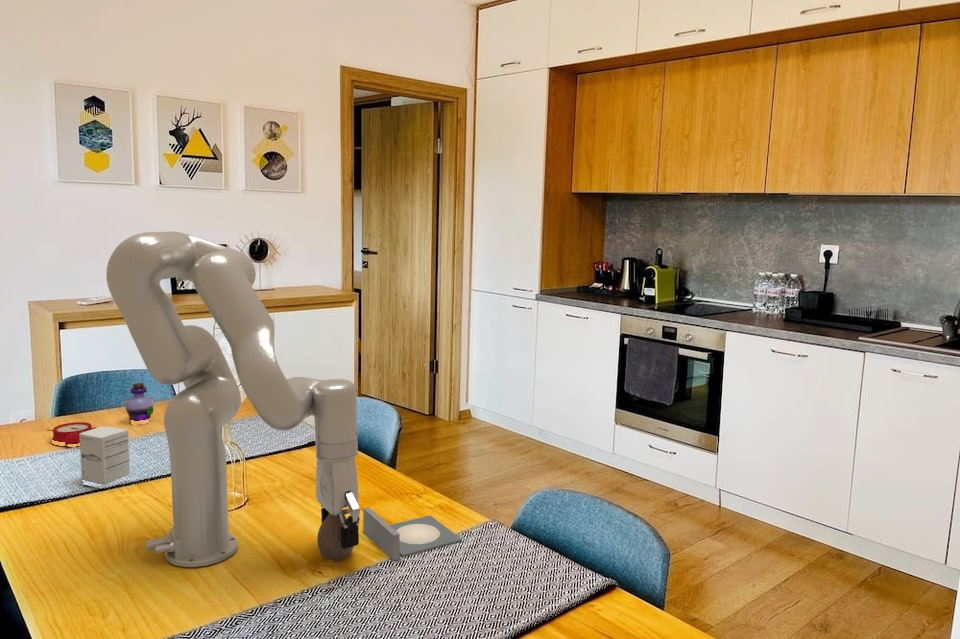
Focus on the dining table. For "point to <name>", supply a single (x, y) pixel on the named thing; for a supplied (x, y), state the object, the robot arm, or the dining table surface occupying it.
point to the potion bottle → (139, 403)
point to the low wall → (381, 533)
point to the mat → (423, 535)
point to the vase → (332, 539)
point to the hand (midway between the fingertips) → (339, 536)
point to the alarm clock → (70, 432)
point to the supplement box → (104, 454)
